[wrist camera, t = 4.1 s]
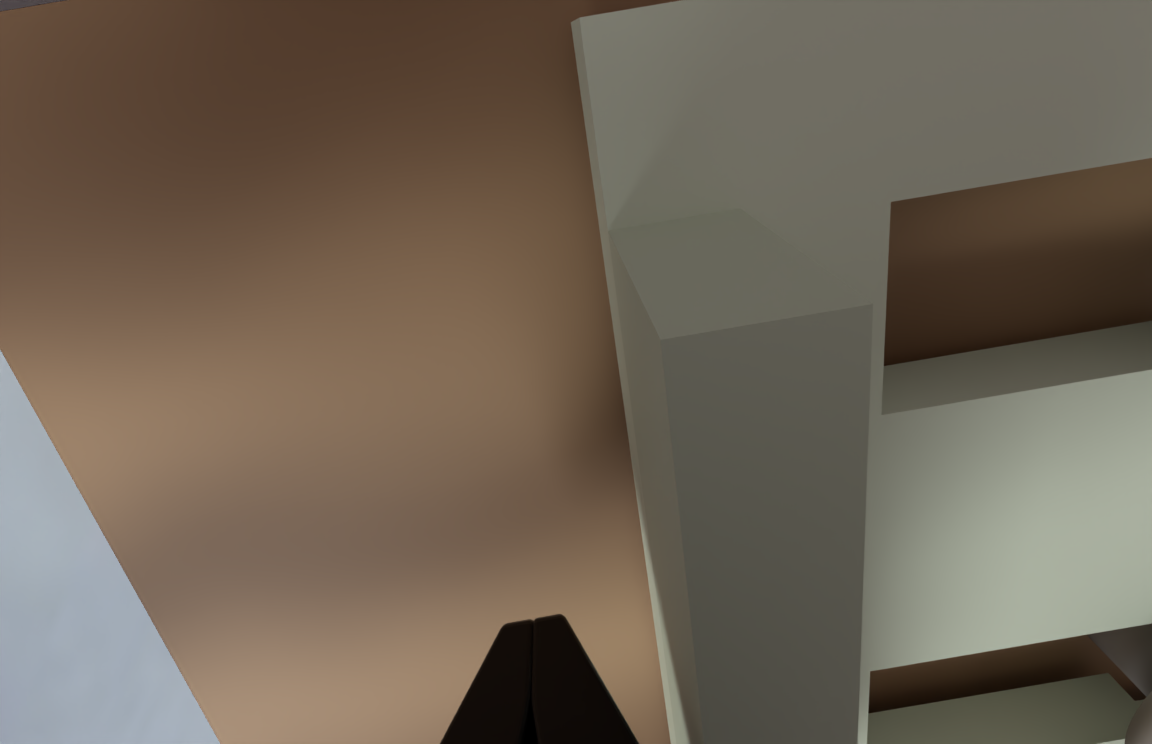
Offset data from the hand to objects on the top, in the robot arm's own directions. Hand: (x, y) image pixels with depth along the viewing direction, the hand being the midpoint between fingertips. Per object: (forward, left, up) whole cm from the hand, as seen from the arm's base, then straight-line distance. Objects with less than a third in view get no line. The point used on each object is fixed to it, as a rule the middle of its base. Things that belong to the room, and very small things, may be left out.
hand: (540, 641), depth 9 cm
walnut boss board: (0, -7, -3) cm, 7 cm away
